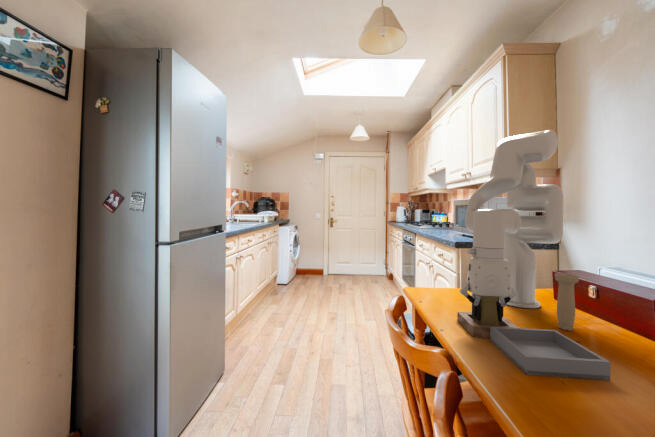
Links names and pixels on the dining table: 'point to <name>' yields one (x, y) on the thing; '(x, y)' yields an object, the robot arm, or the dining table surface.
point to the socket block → (480, 330)
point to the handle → (566, 300)
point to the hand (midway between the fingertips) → (487, 318)
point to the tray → (549, 353)
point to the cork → (488, 311)
